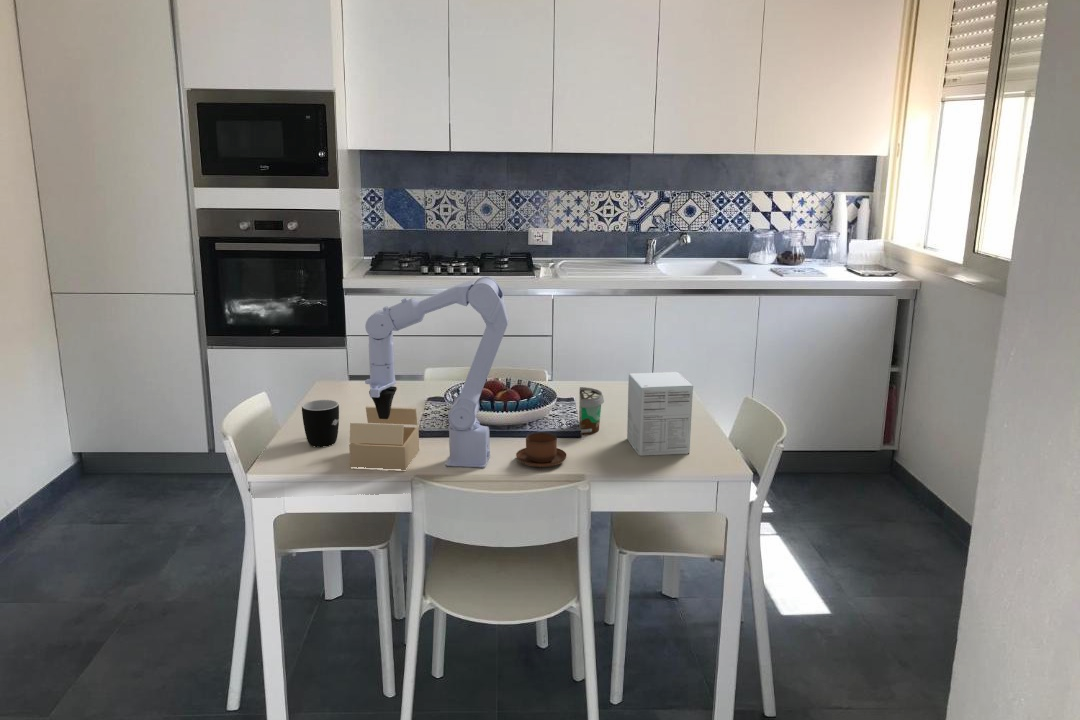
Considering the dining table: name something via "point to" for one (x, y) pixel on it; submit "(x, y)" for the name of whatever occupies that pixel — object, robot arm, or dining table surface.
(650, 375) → the supplement box
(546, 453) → the cup and saucer
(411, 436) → the carton
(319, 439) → the mug
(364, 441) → the near flap
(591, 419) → the food container
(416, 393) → the dining table surface
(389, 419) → the far flap
